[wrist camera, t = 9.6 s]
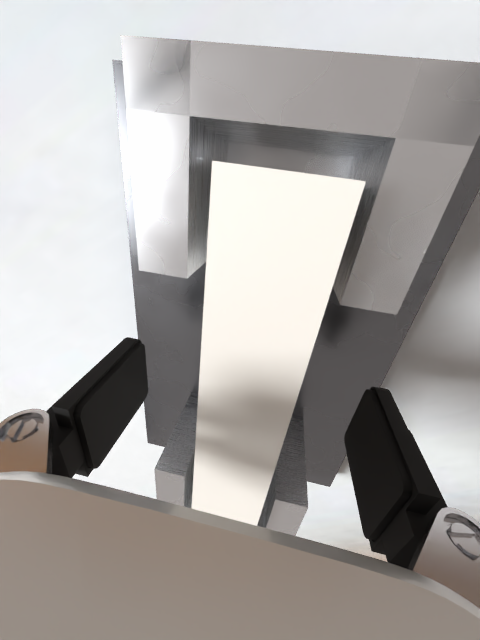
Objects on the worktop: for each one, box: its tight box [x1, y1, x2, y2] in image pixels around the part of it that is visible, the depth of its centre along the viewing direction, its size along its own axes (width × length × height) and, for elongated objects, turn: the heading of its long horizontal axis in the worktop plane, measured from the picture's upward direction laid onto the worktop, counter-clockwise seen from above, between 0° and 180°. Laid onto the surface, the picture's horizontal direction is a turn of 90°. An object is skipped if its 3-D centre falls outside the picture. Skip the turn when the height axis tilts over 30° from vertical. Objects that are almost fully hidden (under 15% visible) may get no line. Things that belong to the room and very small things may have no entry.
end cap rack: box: [112, 35, 480, 536], centre depth 12 cm, size 14×22×6 cm, turn 173°
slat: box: [191, 161, 366, 526], centre depth 11 cm, size 3×16×5 cm, turn 173°
